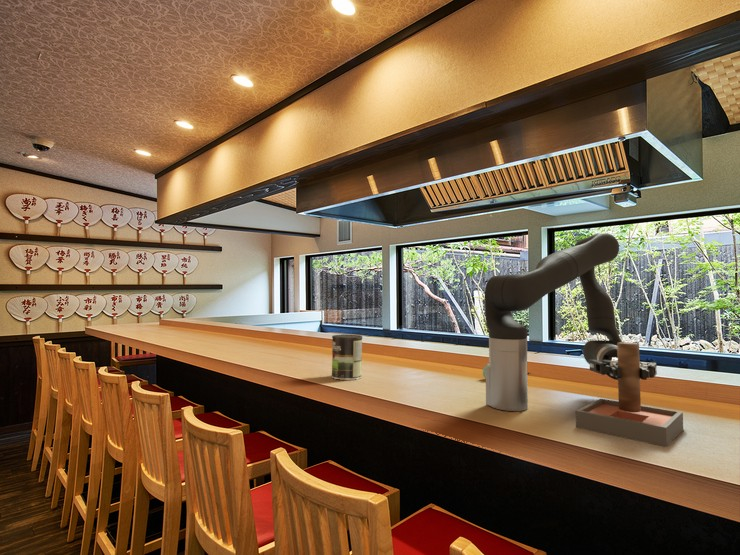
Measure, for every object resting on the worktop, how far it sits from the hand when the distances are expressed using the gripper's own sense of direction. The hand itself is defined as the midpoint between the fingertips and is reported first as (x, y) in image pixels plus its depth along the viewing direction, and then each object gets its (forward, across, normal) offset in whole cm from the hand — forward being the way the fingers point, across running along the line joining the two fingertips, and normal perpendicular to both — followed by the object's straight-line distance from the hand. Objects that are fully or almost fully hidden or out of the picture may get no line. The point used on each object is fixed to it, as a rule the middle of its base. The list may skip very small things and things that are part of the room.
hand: (631, 373), depth 87 cm
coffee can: (-30, -78, +12) cm, 84 cm away
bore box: (-2, 0, +12) cm, 12 cm away
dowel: (-3, 0, +8) cm, 8 cm away
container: (-56, -26, +13) cm, 63 cm away
